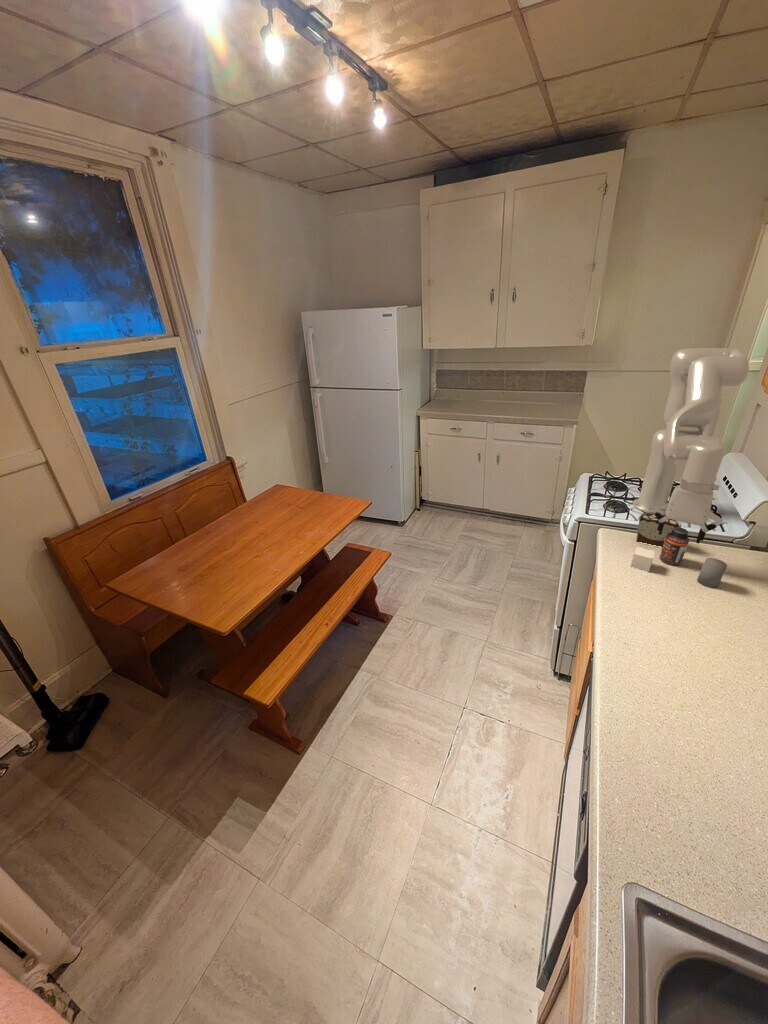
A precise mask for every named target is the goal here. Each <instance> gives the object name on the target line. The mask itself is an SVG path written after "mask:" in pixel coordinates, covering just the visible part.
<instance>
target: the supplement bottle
mask: <svg viewBox="0 0 768 1024" xmlns="http://www.w3.org/2000/svg"><path fill="white" fill-rule="evenodd" d="M688 535H689V531H688V530H687V529H685V528H684V527H681V528H680V527H675V528H673V530H672V532H671V533H669V534H667V536H666V538H665V542H664V544H663V547H662V548H661V550H660V553H659V557H658V558H659V559H660V561H661V562H663V563H664V564H666V565H671V566H678V565H680V564H682V561H683V559H684V557H685V554H686V551H687V548H688V546H689V543H690V538H689V537H688Z"/></svg>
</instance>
